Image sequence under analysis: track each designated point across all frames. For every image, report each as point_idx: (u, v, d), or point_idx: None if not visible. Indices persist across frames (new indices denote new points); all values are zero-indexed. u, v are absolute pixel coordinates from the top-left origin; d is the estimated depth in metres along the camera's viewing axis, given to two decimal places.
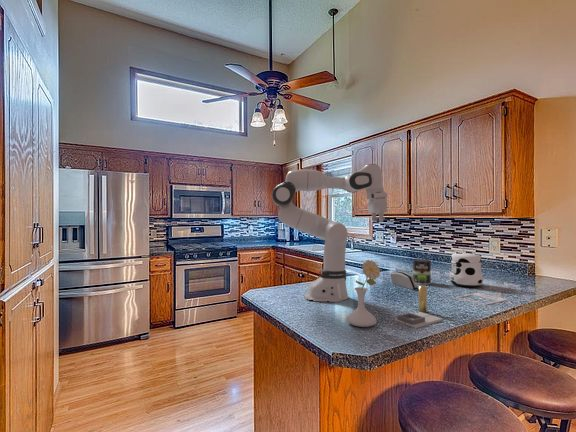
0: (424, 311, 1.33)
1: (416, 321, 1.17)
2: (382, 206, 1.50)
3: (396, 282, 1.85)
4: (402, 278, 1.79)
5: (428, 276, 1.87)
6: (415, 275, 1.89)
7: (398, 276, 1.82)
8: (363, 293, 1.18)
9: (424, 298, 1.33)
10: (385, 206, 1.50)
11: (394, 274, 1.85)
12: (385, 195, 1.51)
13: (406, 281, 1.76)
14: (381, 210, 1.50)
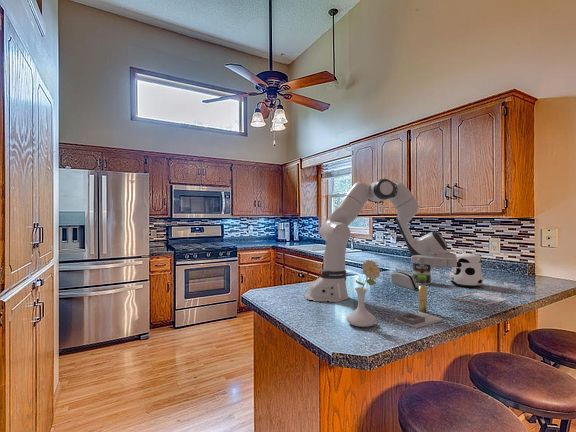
0: (424, 311, 1.33)
1: (416, 321, 1.17)
2: (456, 261, 1.44)
3: (397, 282, 1.85)
4: (403, 278, 1.78)
5: (428, 276, 1.87)
6: (415, 275, 1.89)
7: (399, 276, 1.81)
8: (363, 293, 1.18)
9: (424, 298, 1.33)
10: (456, 264, 1.44)
11: (395, 274, 1.84)
12: None
13: (407, 281, 1.76)
14: (456, 260, 1.42)
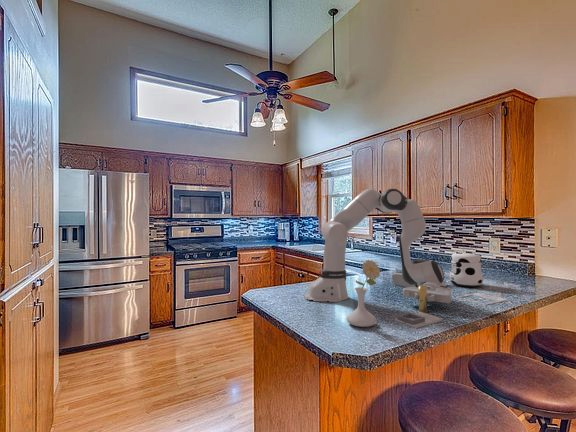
0: (424, 311, 1.33)
1: (416, 321, 1.17)
2: None
3: (398, 283, 1.84)
4: None
5: None
6: None
7: (400, 276, 1.80)
8: (363, 293, 1.18)
9: (424, 298, 1.33)
10: None
11: (396, 275, 1.83)
12: None
13: None
14: (450, 296, 1.32)
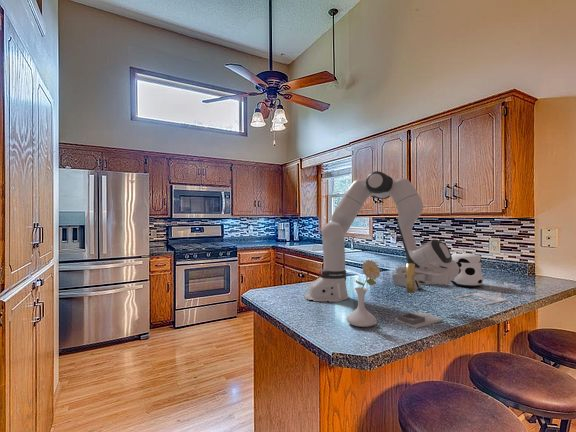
0: (411, 291, 1.20)
1: (416, 321, 1.17)
2: (445, 277, 1.16)
3: (399, 283, 1.84)
4: None
5: None
6: None
7: (401, 277, 1.80)
8: (363, 293, 1.18)
9: (410, 277, 1.20)
10: (444, 282, 1.16)
11: (397, 275, 1.82)
12: (449, 282, 1.20)
13: None
14: (442, 276, 1.15)
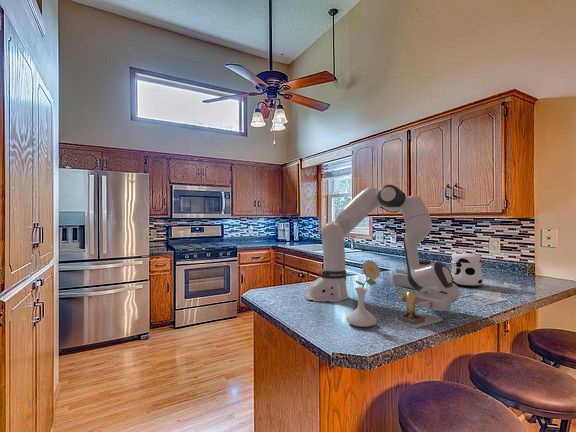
0: None
1: (416, 321, 1.17)
2: (445, 304, 1.16)
3: (399, 283, 1.83)
4: (407, 279, 1.77)
5: None
6: None
7: (403, 277, 1.79)
8: (363, 293, 1.18)
9: (411, 305, 1.20)
10: (444, 308, 1.16)
11: (398, 275, 1.82)
12: (449, 308, 1.20)
13: None
14: (442, 303, 1.15)
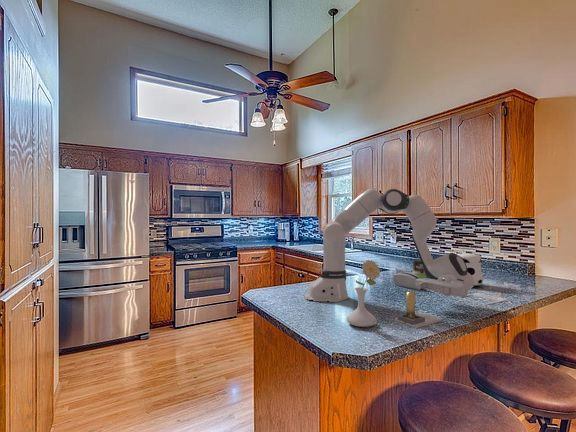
0: None
1: (416, 321, 1.17)
2: (462, 290, 1.25)
3: (400, 283, 1.83)
4: (408, 279, 1.76)
5: None
6: None
7: (403, 277, 1.79)
8: (363, 293, 1.18)
9: (411, 305, 1.19)
10: (462, 294, 1.25)
11: (398, 275, 1.81)
12: (466, 294, 1.29)
13: (413, 282, 1.74)
14: (460, 289, 1.24)
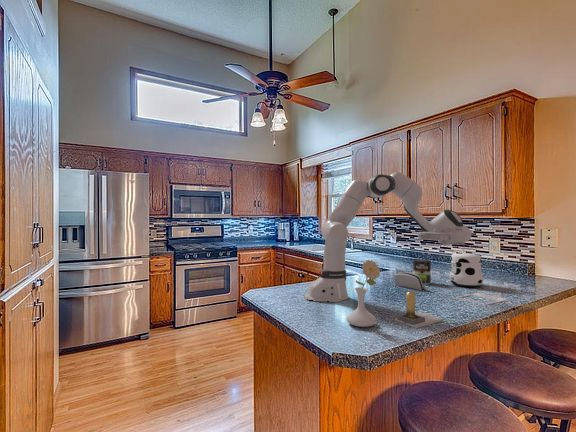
0: None
1: (416, 321, 1.17)
2: (461, 236, 1.38)
3: (401, 283, 1.82)
4: (410, 279, 1.76)
5: (428, 276, 1.87)
6: None
7: (404, 277, 1.78)
8: (363, 293, 1.18)
9: (411, 305, 1.19)
10: (460, 240, 1.38)
11: (399, 275, 1.81)
12: (464, 241, 1.42)
13: (414, 282, 1.74)
14: (458, 235, 1.37)
